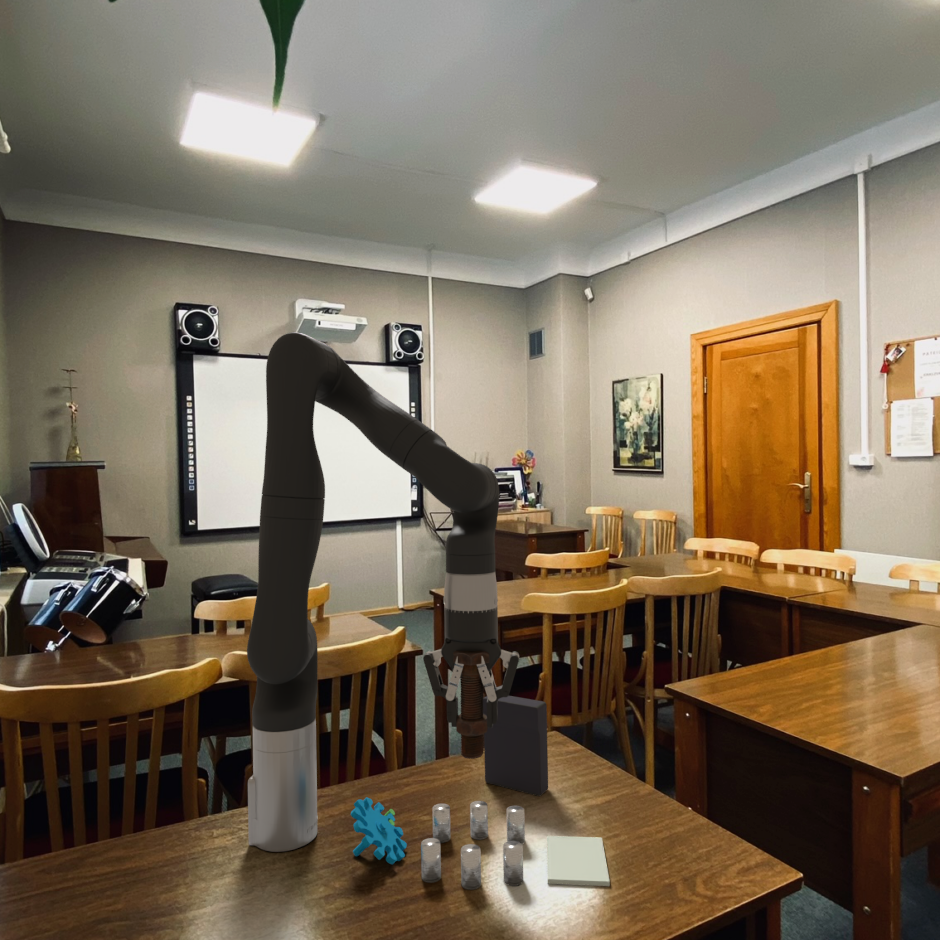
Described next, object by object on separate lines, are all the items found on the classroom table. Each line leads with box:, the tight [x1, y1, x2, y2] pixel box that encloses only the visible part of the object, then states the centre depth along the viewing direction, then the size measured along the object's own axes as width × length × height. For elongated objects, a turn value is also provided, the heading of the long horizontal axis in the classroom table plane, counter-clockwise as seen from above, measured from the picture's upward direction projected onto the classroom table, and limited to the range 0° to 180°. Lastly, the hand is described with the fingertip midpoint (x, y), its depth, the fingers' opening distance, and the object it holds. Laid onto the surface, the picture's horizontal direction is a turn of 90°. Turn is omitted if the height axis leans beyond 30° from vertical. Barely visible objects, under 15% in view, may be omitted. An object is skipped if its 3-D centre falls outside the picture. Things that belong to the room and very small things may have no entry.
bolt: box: [453, 651, 489, 760], centre depth 97 cm, size 6×5×15 cm
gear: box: [350, 796, 408, 865], centre depth 98 cm, size 11×6×10 cm
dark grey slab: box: [483, 695, 549, 797], centre depth 119 cm, size 11×4×15 cm, turn 58°
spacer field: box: [420, 800, 526, 891], centre depth 96 cm, size 14×15×4 cm
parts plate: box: [546, 835, 611, 887], centre depth 95 cm, size 8×11×1 cm
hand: (472, 725), depth 97 cm, fingers closed on bolt, 4 cm apart
